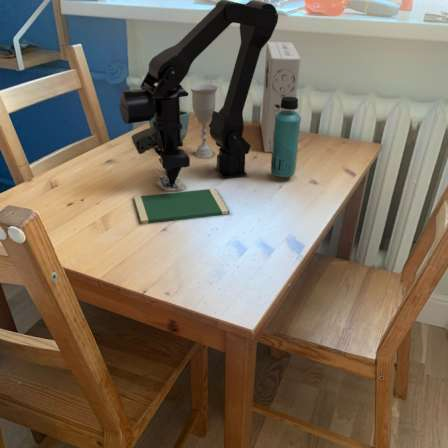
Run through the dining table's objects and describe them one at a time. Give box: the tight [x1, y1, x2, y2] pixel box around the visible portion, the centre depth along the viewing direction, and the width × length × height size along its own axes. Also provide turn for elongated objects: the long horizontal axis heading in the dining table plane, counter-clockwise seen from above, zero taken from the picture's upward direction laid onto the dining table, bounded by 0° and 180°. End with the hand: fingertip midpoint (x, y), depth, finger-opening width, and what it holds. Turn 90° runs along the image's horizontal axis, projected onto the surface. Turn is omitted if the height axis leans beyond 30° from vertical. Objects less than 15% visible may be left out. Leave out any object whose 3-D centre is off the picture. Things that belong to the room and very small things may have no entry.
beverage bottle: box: [270, 97, 302, 178], centre depth 120 cm, size 6×7×20 cm
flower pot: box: [148, 109, 190, 142], centre depth 140 cm, size 9×9×9 cm
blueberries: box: [155, 176, 184, 192], centre depth 120 cm, size 7×8×2 cm
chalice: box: [189, 83, 219, 159], centre depth 132 cm, size 7×7×18 cm
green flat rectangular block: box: [133, 188, 230, 225], centre depth 112 cm, size 20×12×1 cm, turn 106°
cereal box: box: [260, 41, 301, 153], centre depth 140 cm, size 22×8×25 cm, turn 179°
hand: (170, 181), depth 120 cm, fingers closed on blueberries, 3 cm apart
